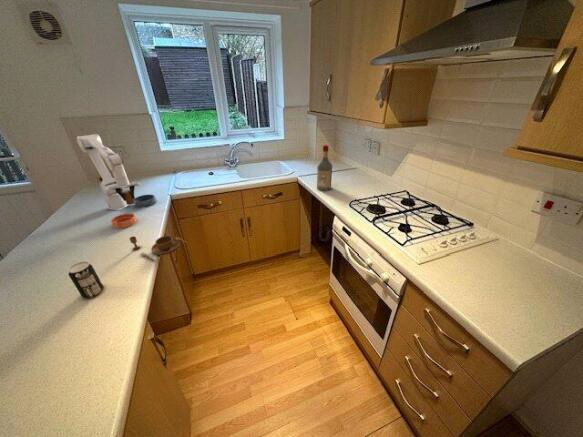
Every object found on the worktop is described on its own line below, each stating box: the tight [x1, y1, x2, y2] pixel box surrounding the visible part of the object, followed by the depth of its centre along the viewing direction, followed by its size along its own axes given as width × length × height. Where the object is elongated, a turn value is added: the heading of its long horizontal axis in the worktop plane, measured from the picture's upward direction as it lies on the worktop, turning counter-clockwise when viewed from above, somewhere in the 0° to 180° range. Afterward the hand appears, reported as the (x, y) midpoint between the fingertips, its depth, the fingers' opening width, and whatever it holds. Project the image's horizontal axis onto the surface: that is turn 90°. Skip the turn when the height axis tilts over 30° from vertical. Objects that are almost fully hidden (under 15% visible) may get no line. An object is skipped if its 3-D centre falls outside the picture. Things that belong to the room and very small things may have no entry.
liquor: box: [316, 144, 333, 192], centre depth 163 cm, size 9×9×30 cm
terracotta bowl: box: [110, 212, 138, 230], centre depth 131 cm, size 11×11×4 cm
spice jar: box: [123, 189, 135, 206], centre depth 137 cm, size 4×4×8 cm
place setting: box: [129, 235, 188, 262], centre depth 111 cm, size 18×20×6 cm
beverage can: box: [67, 261, 104, 299], centre depth 85 cm, size 7×7×12 cm
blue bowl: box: [133, 193, 157, 208], centre depth 155 cm, size 12×12×4 cm
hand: (129, 199), depth 138 cm, fingers closed on spice jar, 4 cm apart
